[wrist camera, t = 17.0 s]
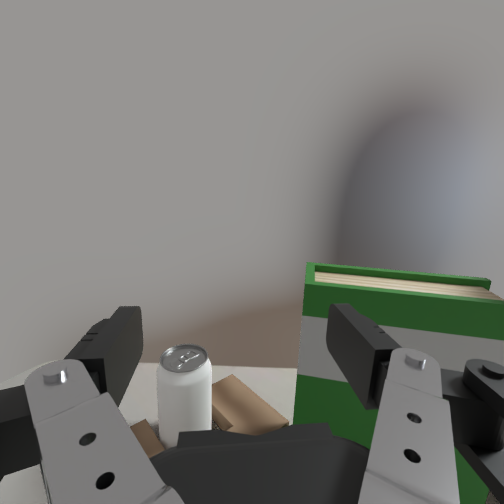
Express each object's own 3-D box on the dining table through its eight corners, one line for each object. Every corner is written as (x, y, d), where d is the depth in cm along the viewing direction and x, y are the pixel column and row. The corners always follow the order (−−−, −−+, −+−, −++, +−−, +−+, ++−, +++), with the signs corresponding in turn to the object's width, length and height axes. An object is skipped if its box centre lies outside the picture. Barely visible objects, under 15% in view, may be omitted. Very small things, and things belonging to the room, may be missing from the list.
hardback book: (439, 468, 34) (485, 278, 28) (473, 543, 27) (543, 308, 21) (291, 437, 37) (306, 262, 32) (286, 496, 30) (304, 283, 25)
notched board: (231, 387, 46) (232, 374, 45) (287, 437, 37) (289, 421, 37) (95, 463, 33) (93, 445, 32) (132, 566, 24) (130, 545, 24)
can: (149, 442, 36) (144, 358, 33) (188, 411, 41) (187, 336, 38) (183, 474, 32) (180, 382, 29) (221, 435, 37) (222, 354, 34)
